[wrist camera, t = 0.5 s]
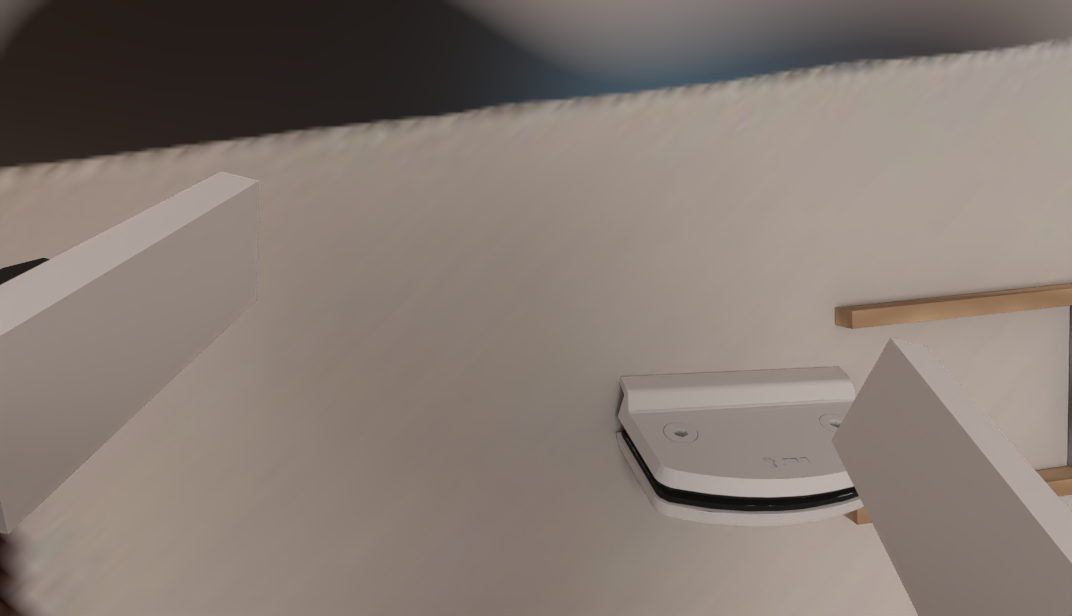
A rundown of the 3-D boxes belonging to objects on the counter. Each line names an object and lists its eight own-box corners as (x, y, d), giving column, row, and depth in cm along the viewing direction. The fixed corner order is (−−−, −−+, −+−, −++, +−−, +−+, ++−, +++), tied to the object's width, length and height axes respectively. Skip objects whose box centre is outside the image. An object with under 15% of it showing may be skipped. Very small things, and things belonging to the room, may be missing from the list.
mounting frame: (1081, 479, 49) (1107, 489, 47) (840, 512, 47) (857, 524, 45) (1085, 281, 47) (1112, 283, 45) (835, 307, 45) (852, 311, 43)
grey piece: (843, 366, 46) (938, 457, 37) (829, 420, 48) (914, 518, 39) (614, 376, 44) (656, 475, 35) (610, 432, 46) (647, 538, 37)
